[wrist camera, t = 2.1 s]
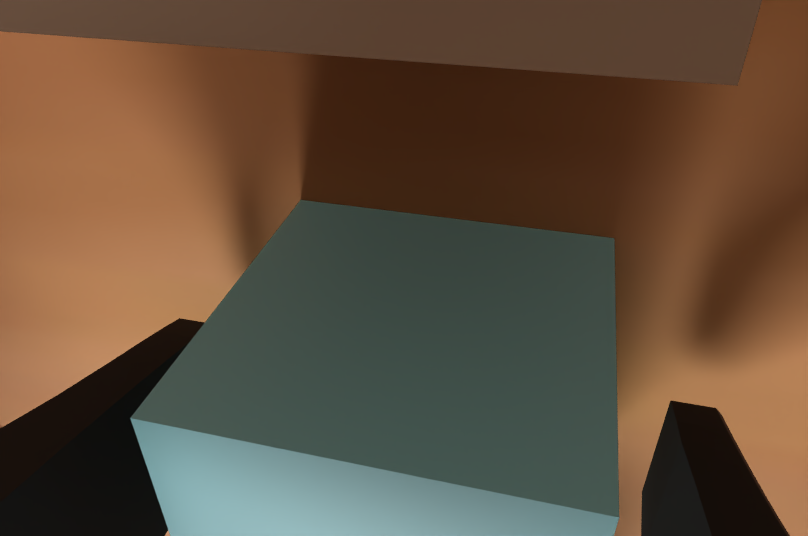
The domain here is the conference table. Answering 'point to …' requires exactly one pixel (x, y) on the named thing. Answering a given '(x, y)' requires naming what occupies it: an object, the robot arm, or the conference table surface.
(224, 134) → the conference table surface
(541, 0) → the walnut block
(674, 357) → the conference table surface
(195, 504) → the teal block
